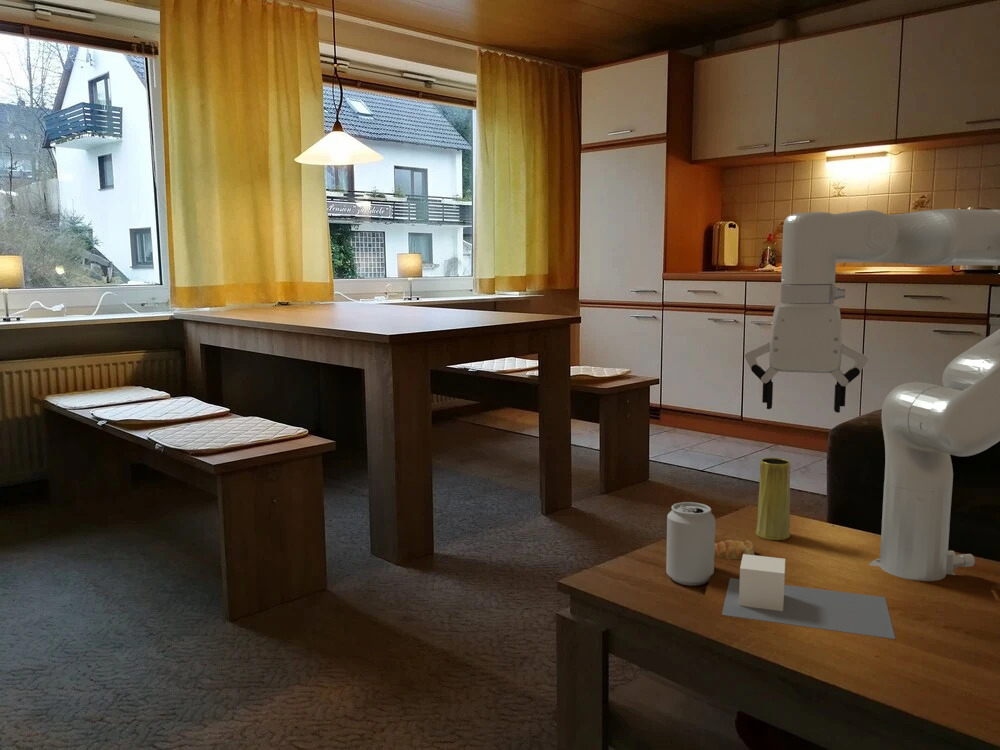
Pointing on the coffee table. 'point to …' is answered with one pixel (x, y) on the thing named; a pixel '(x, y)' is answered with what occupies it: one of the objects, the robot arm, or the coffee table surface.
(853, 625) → the board
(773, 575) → the cream foam cube
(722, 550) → the pastry
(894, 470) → the robot arm
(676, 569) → the can
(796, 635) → the coffee table surface
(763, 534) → the vase
